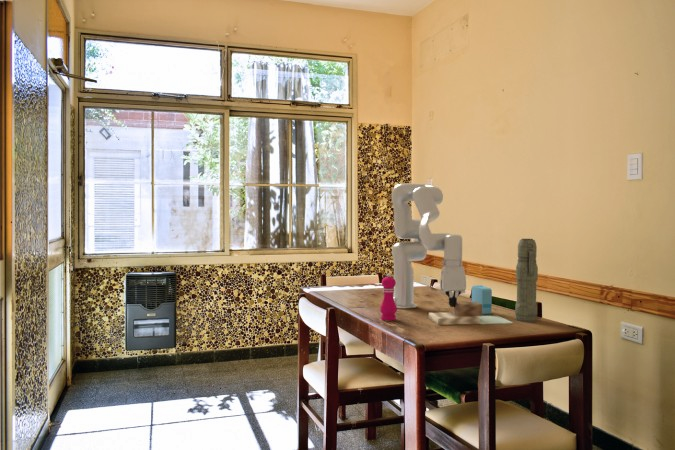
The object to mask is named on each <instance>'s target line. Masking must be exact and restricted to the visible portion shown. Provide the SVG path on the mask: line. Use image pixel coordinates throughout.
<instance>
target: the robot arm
mask: <svg viewBox="0 0 675 450" xmlns="http://www.w3.org/2000/svg"><path fill="white" fill-rule="evenodd" d="M443 200H444V193H443V191H442V189H440V187H437V186H435V185H434V186H433V185H429V184H426V183H411V182H410V183H404V182H403V183H399V184H396V185H395V186H394V187H393V189H392V191H391V202H392V208H393V218H394V219H393V222H394V235H395V237H396V238H397V239H402V240H410V239H411V240H413V241H399V242H396V243H394V244H393V245H392V249H391V254H392V260H393V278H394V279H395V282H396V285H395V286H394V292H393V298H394V301H395V304H396V307H397V309H414V308H417V306H418V305H417V304H416V303H415V302H414V283H415V282H414V277H415V276H414V275H415V273H414V268H413V265H412V264H411V263H410V262H418V261H424V260H425V259H426V257H427V254H428V251H429V252H438V251H439V252H441V251H443V260H442V261H440V265H443V266H442V268H441V272H440V273H441V274H440V283H439V285H440V286H439V287H440V291H439V293H441V294H444V295H446V296H447V297H448V306H449V307H450V308H454V307H456V305H457V302H458V298H459V296H461V294H465V293H466V289H467V280H466V279H467V278H466V277H467V276H466V271H465V270H466V269H465V267H464V266H463V237H462V235H460V234H452V233H444V232H443V233H442V232H441V233H432V232H431V229H430V227H429V226H430V225H429V224H430V223H433V222H434V221H436V220H437V219H438V218H439V217H440V214H441V213H440V210H439V207H438V205H441V204H442V202H443ZM408 202H414V203H415V206H416V207H415V208H416V209H417V211H418V213H419V216H420V217H421V219H415V218H413V215H412V213H413V212H412V209H411V206H410V204H409V203H408Z"/></svg>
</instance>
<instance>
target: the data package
mask: <svg viewBox="0 0 675 450" xmlns="http://www.w3.org/2000/svg"><path fill="white" fill-rule="evenodd" d="M492 291H493V290H492V288H491V287H487V286H484V285H472V287H471V302H478V303H480V304H482V316H491V314H492V309H493V308H492V303H493V302H492V299H493V298H492V297H493V294H492V293H493V292H492Z"/></svg>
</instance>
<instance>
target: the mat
mask: <svg viewBox="0 0 675 450" xmlns="http://www.w3.org/2000/svg"><path fill="white" fill-rule="evenodd" d="M477 317H479V318H480V324H479V325H502V324H504V325H505V324H506V325H508V324H509V325H510V324H511V325H512V324H514V323H513V321H510V320H508V319H506V318H503V317H501V316H500V315H482V316H477Z"/></svg>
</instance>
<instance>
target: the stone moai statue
mask: <svg viewBox="0 0 675 450" xmlns="http://www.w3.org/2000/svg"><path fill="white" fill-rule="evenodd" d="M537 246H538V245H537V243H536V240H535V239H533V238H521V239H519V241H518V244H517V263H516V266H515V279H516V302H515V304H514V305H515V308H514V309H515V310H514V311H515V312H514V314H515V321H518V322H521V323H522V322H523V323H524V322H525V323H535V322H537V321H538V319H537V316H538V303H537V281H538V278H539V276H538V275H539V274H538V273H539V269H538V264H537V251H538V250H537Z"/></svg>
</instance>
